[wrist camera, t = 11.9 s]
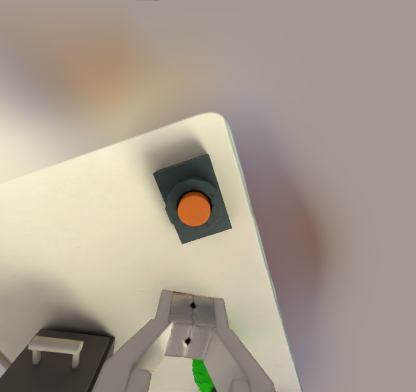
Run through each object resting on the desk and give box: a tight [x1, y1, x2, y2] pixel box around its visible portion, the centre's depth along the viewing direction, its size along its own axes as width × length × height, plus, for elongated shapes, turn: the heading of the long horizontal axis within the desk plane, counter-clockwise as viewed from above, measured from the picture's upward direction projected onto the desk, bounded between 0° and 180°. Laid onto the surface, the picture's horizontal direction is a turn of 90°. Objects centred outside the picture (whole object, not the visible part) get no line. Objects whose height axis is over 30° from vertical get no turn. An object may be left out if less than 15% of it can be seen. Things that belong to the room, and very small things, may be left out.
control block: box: [153, 154, 232, 244], centre depth 24 cm, size 10×7×4 cm
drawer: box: [0, 329, 110, 392], centre depth 28 cm, size 17×10×8 cm, turn 167°
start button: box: [178, 192, 210, 226], centre depth 22 cm, size 4×4×2 cm
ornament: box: [192, 359, 217, 392], centre depth 28 cm, size 8×8×10 cm
